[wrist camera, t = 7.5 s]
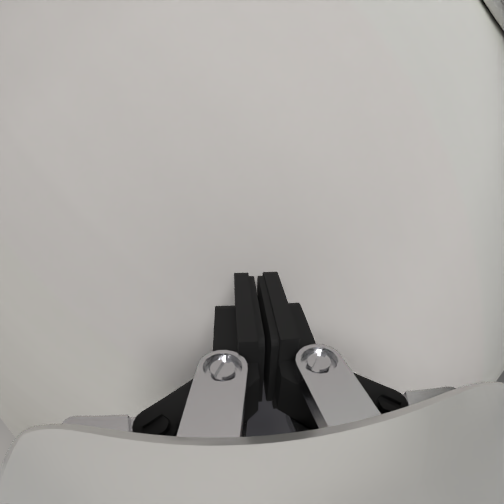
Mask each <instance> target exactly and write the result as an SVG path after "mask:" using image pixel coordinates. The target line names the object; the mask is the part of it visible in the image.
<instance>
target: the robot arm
mask: <svg viewBox="0 0 504 504" xmlns="http://www.w3.org/2000/svg"><path fill="white" fill-rule="evenodd" d="M483 1H484V3H485V4H486V5H487V7H488V8H489V10H490V12H491V13H492V15H493V16H494V18H495V19H496V21H497V22H498V23H499V25H500V26H501V28H502V29H503V31H504V0H483ZM234 285H235V306H215V320H214V340H213V352H210V353H208V354H206V355H205V356H203V357H202V358H201V359H200V361H199V363H198V365H197V369H196V372H195V375H194V378H193V379H192V380H191V381H189V382H188V383H186V384H185V385H183V386H182V387H180V388H179V389H177V390H176V391H174V392H173V393H171V394H169V395H168V396H166V397H165V398H163V399H162V400H160V401H158V402H157V403H155V404H154V405H152V406H150V407H149V408H147V409H145V410H144V411H142V412H141V413H140V414H139V415H137V417H129V416H128V415H108V416H72V417H69V418H67V419H66V420H64V421H63V423H62V424H47V425H39V426H34V427H31V428H28V429H26V430H24V431H22V432H21V433H20V434H19V435H18V436H17V437H16V438H15V440H14V441H13V443H12V444H11V446H10V448H9V450H8V452H7V454H6V456H5V458H4V460H3V463H2V465H1V468H0V504H504V383H501V382H480V383H475V384H470V385H466V386H463V387H459V388H454V387H441V388H434V389H425V390H416V391H406V392H405V393H404V395H402V394H401V393H399V392H398V391H396V390H394V389H391V388H389V387H386V386H384V385H381V384H379V383H376V382H374V381H371V380H369V379H367V378H364V377H362V376H360V375H357V374H355V373H353V372H352V371H351V369H350V368H349V366H348V365H347V363H346V362H345V360H344V359H343V357H342V356H341V355H340V353H339V352H338V351H337V350H335V349H334V348H332V347H330V346H327V345H323V344H316V343H315V341H314V338H313V335H312V333H311V330H310V328H309V325H308V323H307V320H306V318H305V315H304V313H303V310H302V308H301V305H300V304H299V303H288V302H287V299H286V296H285V293H284V290H283V287H282V284H281V281H280V278H279V275H278V273H277V272H263V276H258V280H257V292H256V286H255V280H254V276H249V275H248V273H234ZM263 382H264V389H265V396H266V401H272V405H273V409H278V410H279V411H281V412H283V413H285V414H286V421H287V424H288V426H289V428H290V431H291V433H285V434H276V435H265V436H251V437H247V429H248V419H250V418H251V417H252V416H253V415H254V414H255V413H256V412H257V411H258V403H259V402H262V394H263Z"/></svg>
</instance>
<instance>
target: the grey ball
mask: <svg viewBox="0 0 504 504" xmlns="http://www.w3.org/2000/svg"><path fill="white" fill-rule="evenodd" d="M285 433H291V431H290V428H289V426H288V424H287V421H286V414H285V413H283V412H281V411H279V410H278V409H273V405H272V401H266V396H265V389H264V382H263V394H262V402H259V403H258V411H257V412H256V413H255V414H254V415H253V416H252V417H251V418H250V419H248V429H247V437H251V436H265V435H276V434H285Z"/></svg>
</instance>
